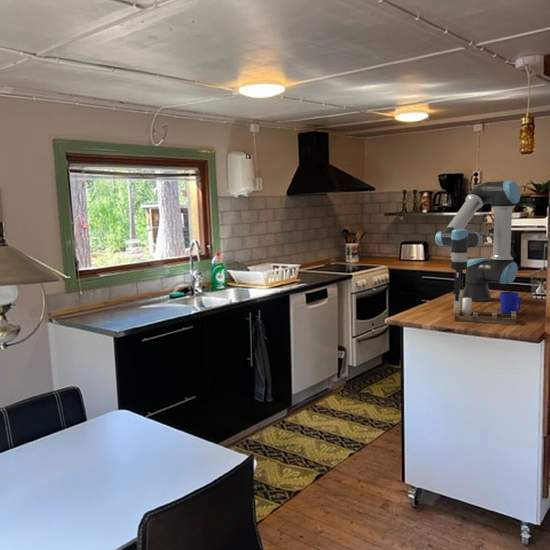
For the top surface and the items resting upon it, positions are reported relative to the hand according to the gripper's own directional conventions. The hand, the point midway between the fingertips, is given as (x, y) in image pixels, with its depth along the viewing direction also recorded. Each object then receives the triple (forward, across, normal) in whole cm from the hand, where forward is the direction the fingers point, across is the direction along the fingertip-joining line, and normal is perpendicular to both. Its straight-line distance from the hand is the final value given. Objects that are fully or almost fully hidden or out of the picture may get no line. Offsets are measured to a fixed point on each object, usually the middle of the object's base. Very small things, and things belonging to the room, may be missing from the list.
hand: (458, 305), depth 266 cm
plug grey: (+3, +12, +5) cm, 13 cm away
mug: (+5, -7, +24) cm, 25 cm away
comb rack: (+4, +12, +13) cm, 18 cm away
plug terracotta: (+4, 0, 0) cm, 4 cm away
